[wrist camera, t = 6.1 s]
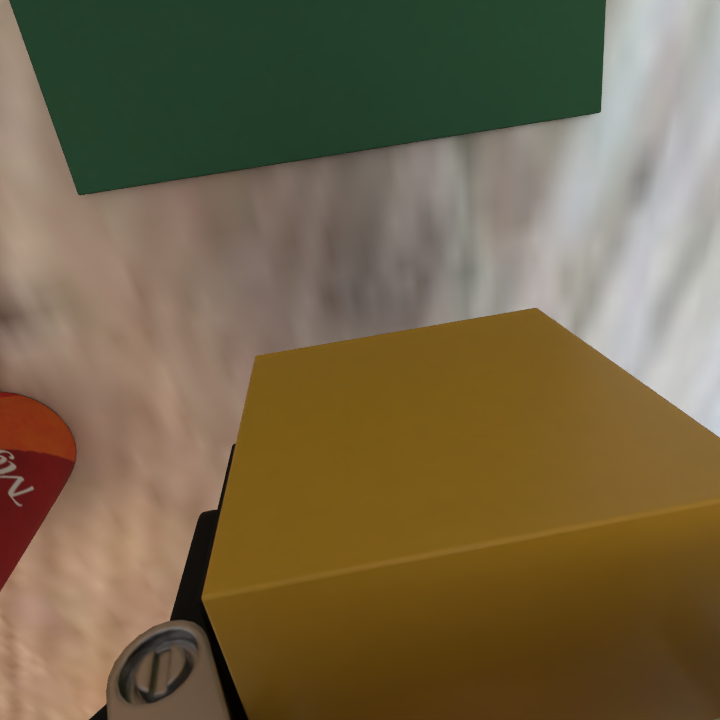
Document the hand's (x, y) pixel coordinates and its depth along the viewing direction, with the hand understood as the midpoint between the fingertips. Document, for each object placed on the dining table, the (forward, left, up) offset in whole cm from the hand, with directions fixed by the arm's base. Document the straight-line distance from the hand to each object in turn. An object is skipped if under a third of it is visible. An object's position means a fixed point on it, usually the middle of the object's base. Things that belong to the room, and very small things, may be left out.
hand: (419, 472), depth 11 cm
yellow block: (0, 0, -1) cm, 1 cm away
